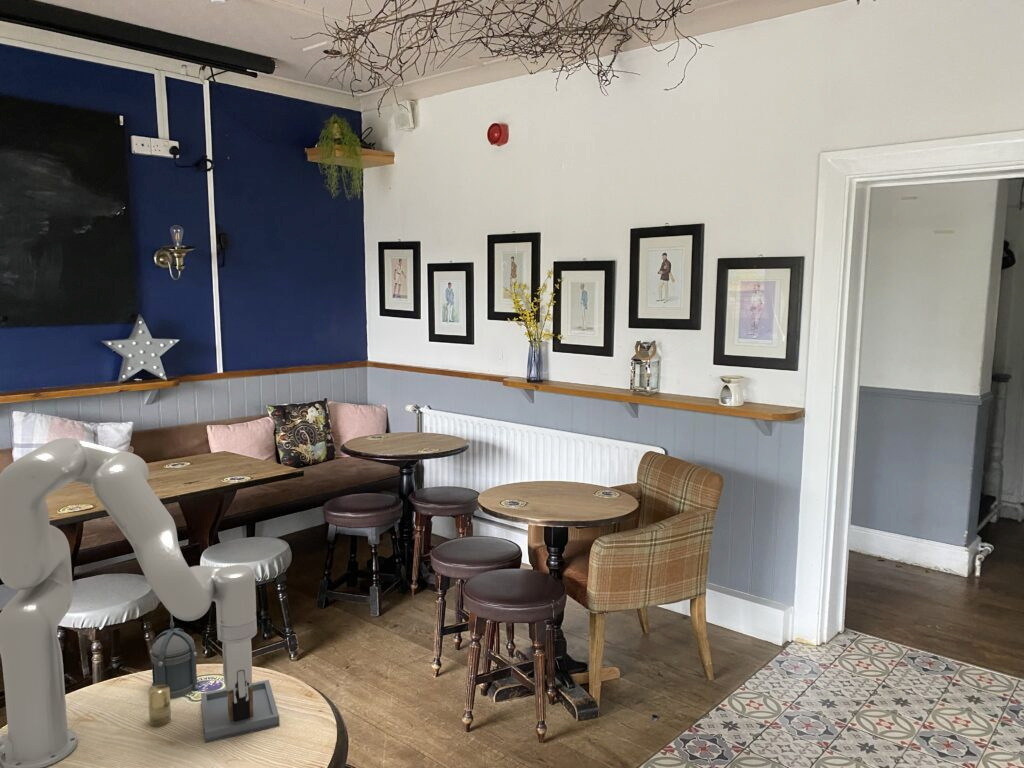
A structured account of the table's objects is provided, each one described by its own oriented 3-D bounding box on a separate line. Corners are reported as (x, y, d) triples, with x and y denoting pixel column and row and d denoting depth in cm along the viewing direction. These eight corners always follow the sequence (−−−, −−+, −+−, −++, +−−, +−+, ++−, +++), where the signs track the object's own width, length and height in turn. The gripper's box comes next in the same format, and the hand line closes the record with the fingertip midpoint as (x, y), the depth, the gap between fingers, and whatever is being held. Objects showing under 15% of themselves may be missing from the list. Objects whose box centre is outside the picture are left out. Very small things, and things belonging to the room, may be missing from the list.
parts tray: (205, 742, 147) (204, 732, 147) (201, 703, 162) (200, 693, 162) (279, 726, 153) (279, 715, 153) (269, 689, 168) (268, 679, 167)
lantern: (209, 677, 173) (204, 551, 169) (185, 702, 162) (178, 568, 159) (165, 675, 174) (159, 550, 170) (138, 699, 163) (131, 566, 160)
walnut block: (229, 722, 151) (228, 693, 150) (228, 710, 155) (227, 683, 154) (253, 716, 153) (252, 689, 152) (251, 706, 157) (250, 678, 156)
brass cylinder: (149, 728, 152) (147, 696, 151) (149, 718, 156) (148, 686, 155) (171, 724, 154) (169, 691, 153) (171, 714, 158) (169, 682, 157)
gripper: (214, 615, 158) (217, 697, 160) (220, 649, 142) (224, 739, 145) (252, 608, 161) (254, 689, 163) (261, 641, 146) (264, 730, 148)
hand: (240, 712), depth 154 cm, fingers closed on walnut block, 4 cm apart
